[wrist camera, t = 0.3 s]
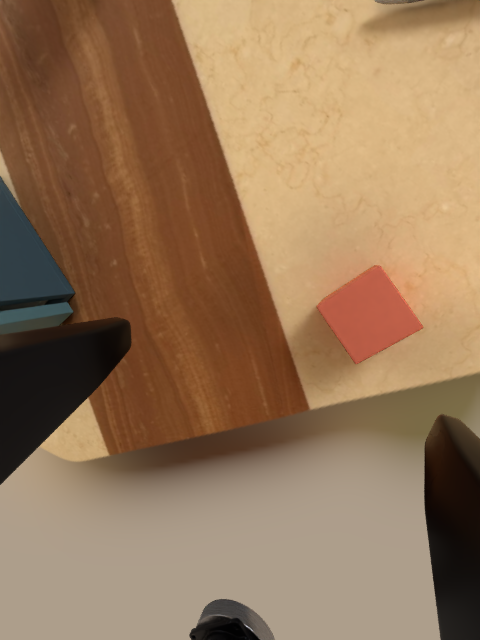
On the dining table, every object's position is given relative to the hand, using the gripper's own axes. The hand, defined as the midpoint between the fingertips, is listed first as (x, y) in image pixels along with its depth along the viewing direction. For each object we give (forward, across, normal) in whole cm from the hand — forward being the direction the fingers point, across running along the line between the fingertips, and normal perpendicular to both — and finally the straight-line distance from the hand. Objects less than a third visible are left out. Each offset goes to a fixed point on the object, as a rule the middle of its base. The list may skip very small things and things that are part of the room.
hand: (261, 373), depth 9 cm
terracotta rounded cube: (+16, -3, +3) cm, 17 cm away
